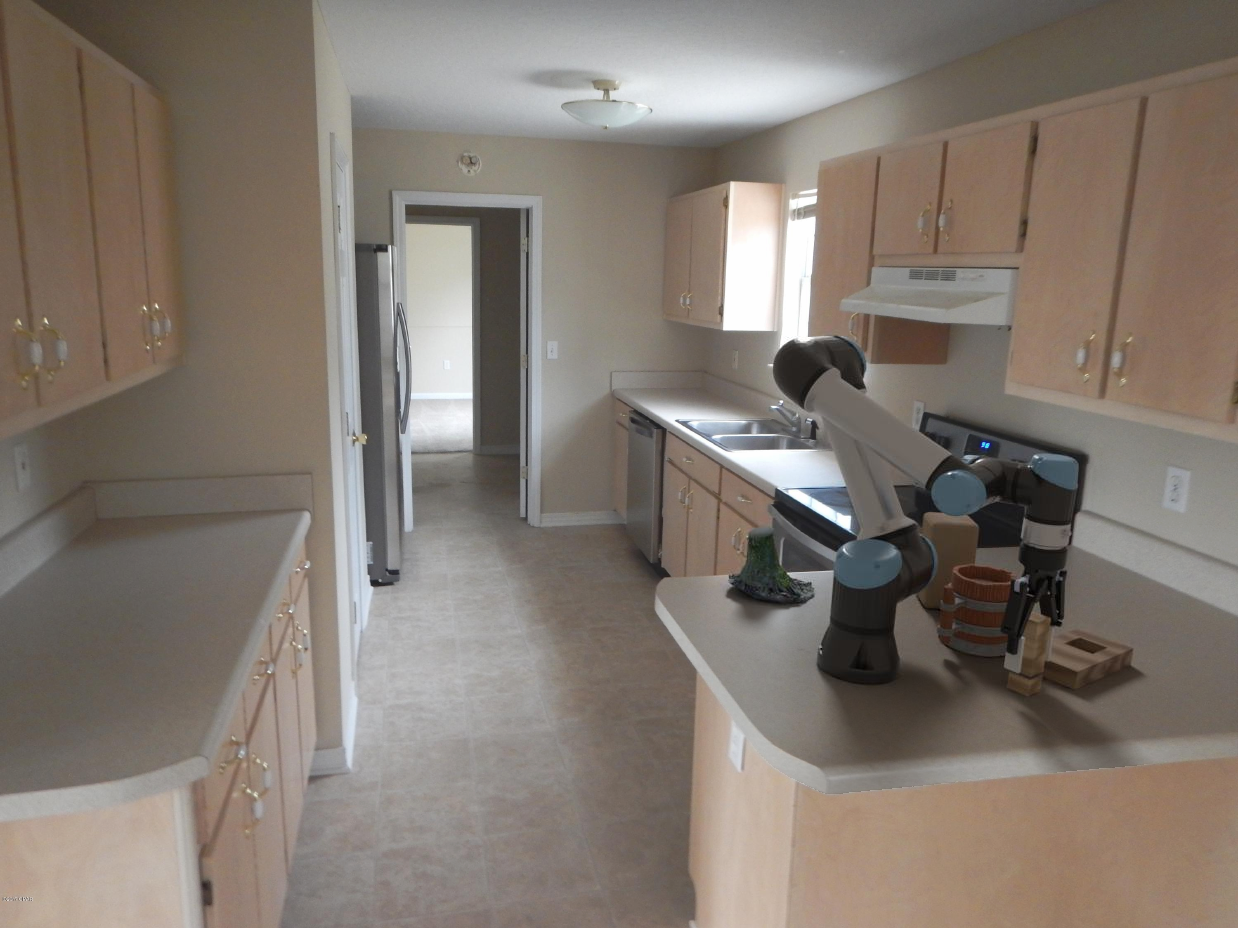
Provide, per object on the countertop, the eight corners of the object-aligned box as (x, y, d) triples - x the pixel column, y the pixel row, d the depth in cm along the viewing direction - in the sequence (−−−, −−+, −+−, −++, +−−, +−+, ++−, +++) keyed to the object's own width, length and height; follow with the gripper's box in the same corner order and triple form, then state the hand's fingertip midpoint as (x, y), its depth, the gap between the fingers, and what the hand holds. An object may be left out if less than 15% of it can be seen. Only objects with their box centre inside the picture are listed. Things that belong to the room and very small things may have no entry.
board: (1074, 689, 161) (1077, 671, 160) (1018, 666, 170) (1020, 649, 169) (1130, 664, 172) (1133, 648, 171) (1075, 644, 181) (1077, 628, 180)
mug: (1028, 648, 178) (1037, 577, 175) (969, 670, 168) (978, 594, 164) (967, 624, 190) (975, 557, 186) (908, 643, 179) (915, 572, 176)
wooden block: (958, 596, 206) (968, 513, 202) (970, 612, 197) (981, 525, 192) (913, 593, 207) (922, 510, 203) (923, 609, 198) (933, 522, 193)
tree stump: (833, 602, 201) (825, 531, 195) (755, 631, 196) (744, 559, 190) (792, 572, 218) (783, 506, 212) (719, 598, 213) (707, 530, 207)
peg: (1027, 696, 158) (1038, 622, 155) (1006, 687, 161) (1016, 614, 158) (1040, 690, 160) (1051, 617, 157) (1019, 681, 163) (1029, 610, 160)
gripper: (1029, 559, 146) (1011, 686, 150) (1098, 540, 157) (1079, 658, 162) (988, 546, 152) (972, 669, 157) (1057, 529, 164) (1041, 643, 168)
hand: (1027, 663), depth 159 cm, fingers open, 9 cm apart
